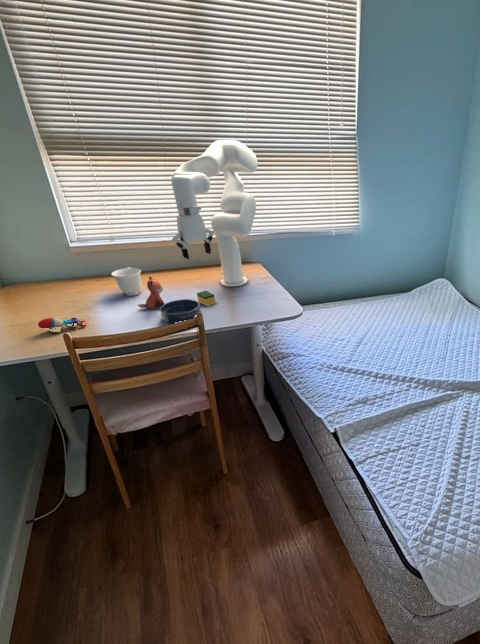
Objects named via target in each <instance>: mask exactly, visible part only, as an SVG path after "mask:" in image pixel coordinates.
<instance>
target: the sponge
mask: <svg viewBox="0 0 480 644" xmlns="http://www.w3.org/2000/svg"><path fill="white" fill-rule="evenodd" d="M196 297H197V302H198V303H199V304H202V305H203V306H206V307H208V306H211V305H214V304H217V303H216V297H215V294H214V293H212V292H210V291H208V290H203V291H200V292H196Z"/></svg>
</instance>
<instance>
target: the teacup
mask: <svg viewBox="0 0 480 644" xmlns="http://www.w3.org/2000/svg"><path fill="white" fill-rule="evenodd" d="M141 273H142V269H140V268H138V267H130V266H127V267H124V268H119V269H117V270H114V271H112V272H111V276H112V277H113V278H114V280H115V281H116V284H117V286H118V288H119V289H120V290H121V291H122V292H123V293H125V295H126V296H131V297H133V296H136V295H139V294H140V293H141V292H140V290H141V289H142V287H143V286H142V285H143V283H142V277H141Z"/></svg>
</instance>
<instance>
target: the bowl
mask: <svg viewBox="0 0 480 644" xmlns="http://www.w3.org/2000/svg"><path fill="white" fill-rule="evenodd" d="M200 304H201V303H200V302H198V300H194V299H188V298H186V299H176V300H172V301H168V302H166V303H164V305H162V306H161V307H160V308H159V311H160V316H161V319H162V321H164V322H165V323H167V324H171V323H175V322H179V321H184V320H189V319H193V318H194V317H195V315H196V313H197V312H201V313H202V309H201V305H200Z"/></svg>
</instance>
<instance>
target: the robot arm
mask: <svg viewBox="0 0 480 644" xmlns="http://www.w3.org/2000/svg"><path fill="white" fill-rule="evenodd" d="M258 164H259V163H258V157H257V155H256V153H254V152H253V151H252V150H251V149H250V148H249V147H247V146H246V145H245V144H244V143H242V142H241V141H238V140H224V139H223V140H215V141H214V142H213V143H212V144H211V145H210V146H209V147H208V148H207V149H206V150H205V151H204V152H203V154H202V155H199V156H196V157H194V158H193V159H190V160H188V161H185V162H183V163H182V164H181V165H179V166H178V168H176V169H175V171H174V172H173V174H172V176H171V178H170V182H171V186H172V187H171V188H172V191H173V195H174V199H175V204H176V210H177V213H178V215H176V226H177V227H176V228H177V233H176V234H175V235H174V236H173V237H172V239H171V240H172V242H173V243H174V244H175V245H176V246H177V247H179V248H180V250H181V255H182V257H183V258H184V259H186V260H189V259H190V256H189V251H188V248H187V246H188V244H192V243H198V242H202V241H203V242H204V243H203V246H204V251H205V253H206V254H207V255H208V254H209V255H211V254H212V249H211V243H212V240H213V239H214V238H213V236H214V237H215V241H216V244H217V250H218V255H219V260H220V267H221V273H220V274H221V276H222V279H221V280H220V284H221V285H222V286H224V287H230V288H231V287H232V288H233V287H239V286H240V287H241V286H243V285H246V284H247V283H248V278H247V277H246V276H244V269H243V264H242V257H241V251H240V249H241V248H240V245H239V242H238V240H237V238H246V237H249V235H250V234H251V231H252V228H253V224H254V220H255V216H256V212H257V211H256V210H257V204H256V199H255V197H254V195H252V194H251V193H248V192H244V191H245V184H244V182H243V180H242V179H241V178H240V176H239V175H238V173H244V174H245V173H248V174H251V173H255V172H256V171H257V169H258V166H259V165H258ZM221 171H222V173H223V177H224V188H223V190H222V194H221V199H220V204H219V205H220V206H219V207H220V210H221V211H222V212H220V213H215V214H214V215H213V216H212V218H211V220H210V222H211V225H210V226H211V229H212V230H211V229H208V228H206V225H205V222H204V218H203V216H202V214H201V213H200V211H202V207H201V205H200V206H199V205H198V201H197V195H205V194H206V193H208V192H209V190H210V189H211V182H210V181H211V180H210V178H212V177H215V176H217V175H219V174H220V172H221ZM207 233H208V234H207Z"/></svg>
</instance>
